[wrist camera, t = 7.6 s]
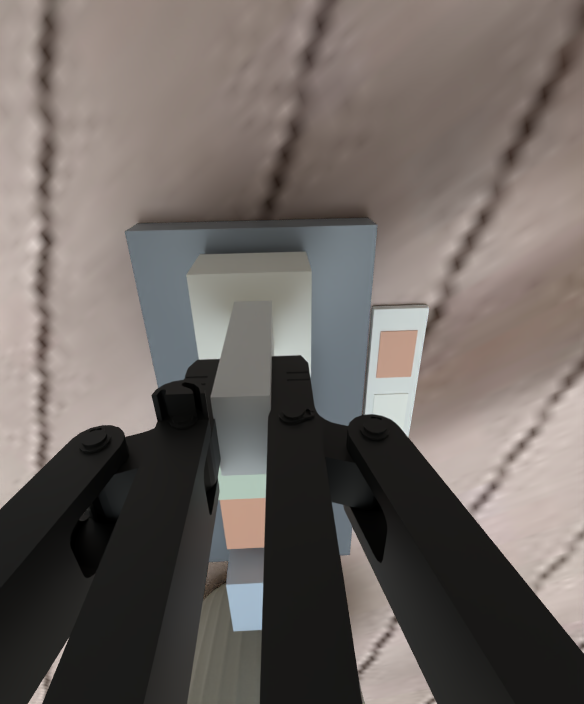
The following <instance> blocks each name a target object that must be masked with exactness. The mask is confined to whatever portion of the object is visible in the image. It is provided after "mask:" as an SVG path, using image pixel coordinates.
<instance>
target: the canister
mask: <svg viewBox="0 0 584 704" xmlns="http://www.w3.org/2000/svg"><path fill="white" fill-rule="evenodd" d="M261 640H262V630H251V631H233V625H232V619H231V613H230V607H229V600H228V594H227V588H226V583H224V584H222V585H221V586H220V587H219V588H216V589H215V590H213V591H212V592H211V594H209V595H208V596H207V597H206V598H205V599H204V600H203V603H202V610H201V616H200V623H199V629H198V636H197V642H196V649H195V655H194V662H193V668H192V675H191V682H190V688H189V695H188V701H187V704H260V674H261ZM359 684H360V683H359ZM360 691H361V687H360ZM361 697H362V704H365V703H364V699H363V695H362V691H361Z"/></svg>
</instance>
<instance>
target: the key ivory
mask: <svg viewBox="0 0 584 704" xmlns="http://www.w3.org/2000/svg"><path fill="white" fill-rule="evenodd" d="M186 277H187V283H188V290H189V297H190V303H191V310H192V317H193V324H194V330H195V337H196V344H197V350H198V357H199V360H203V359H220V357H221V353H222V349H223V345H224V341H225V337H226V333H227V329H228V325H229V321H230V317H231V313H232V309H233V304H234V302H238V301H272V317H273V340H274V356H292V355H301V356H302V357H303V358H304V359H305V360H306V361H307V362H308V365H309V373H310V377H311V299H312V271H311V267H310V264H309V260H308V257H307V254H306V252H270V253H233V254H200V255H199V256H198V258H197V259H196V261H195V262H194V264H193V265H192V267H191V268H190V270H189V271H188V273H187V274H186Z"/></svg>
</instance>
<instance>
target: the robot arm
mask: <svg viewBox="0 0 584 704" xmlns="http://www.w3.org/2000/svg"><path fill="white" fill-rule="evenodd" d="M152 399H153V403H154V408H155V412H156V416H157V421H158V422H157V424H156V427H155V428H154V429H152V430H149V431H146V432H143V433H140V434H135V435H131V436H127V437H125V435H124V432H123V431H122V430H121V429H120V428H119V427H115V426H112V425H102V426H98V427H93V428H90V429H88V430H86V431H83V432H81V433H80V434H78V435H77V436H76V437H74V438H73V439H72V440H71V441H70V442H68V443H67V444H66V445H65V446H64V447H63V448H62V449H61V450H60V451H59V452H58V453H57V454H56V455H55V456H54V457H53V458H52V459H51V460H50V461H49V462H48V463H47V464H46V465H45V466H44V467H43V468H42V469H41V470H40V471H39V472H38V473H37V474H36V475H35V476H34V477H33V478H32V479H31V480H30V481H29V482H28V483H27V484H26V485H25V486H24V487H23V488H22V489H20V490H19V491H18V492H17V493H16V494H15V495H14V496H13V497H12V498H11V499H10V500H9V501H8V502H7V503H6V504H5V505H4V506H3V507H2V508H1V509H0V704H28V702H29V701H30V699H31V698H32V696H33V694H34V693H35V691H36V690H37V688H38V686H39V685H40V683H41V682H42V680H43V678H44V677H45V675H46V674H47V672H48V670H49V669H50V667H51V666H52V664H53V662H54V661H55V659H56V658H57V656H58V654H59V653H60V651H61V649H62V648H63V646H64V645H65V643H66V641H67V640H68V638H69V640H68V642H67V645H66V647H65V649H64V652H63V654H62V657H61V659H60V662H59V664H58V667H57V669H56V671H55V674H54V676H53V679H52V681H51V684H50V686H49V689H48V691H47V694H46V696H45V698H44V701H43V703H42V704H187V701H188V695H189V688H190V682H191V675H192V668H193V662H194V655H195V649H196V642H197V636H198V629H199V623H200V616H201V610H202V603H203V597H204V590H205V583H206V577H207V570H208V564H209V557H210V551H211V544H212V538H213V531H214V525H215V518H216V512H217V505H218V498H219V492H220V490H219V481H218V473H219V467H220V468H221V475H222V476H232V475H257V474H266V503H265V537H264V572H263V606H262V640H261V674H260V704H362V697H361V691H360V684H359V677H358V671H357V664H356V658H355V651H354V645H353V638H352V631H351V625H350V618H349V612H348V605H347V599H346V592H345V585H344V579H343V572H342V566H341V559H340V553H339V546H338V539H337V533H336V526H335V520H334V513H333V507H332V502H333V503H338V504H342V505H343V507H344V511H345V513H346V515H347V517H348V519H349V521H350V523H351V525H352V527H353V529H354V531H355V533H356V535H357V538H358V540H359V542H360V544H361V546H362V548H363V550H364V552H365V554H366V556H367V558H368V560H369V563H370V565H371V567H372V569H373V571H374V573H375V575H376V577H377V579H378V581H379V583H380V585H381V588H382V590H383V592H384V594H385V596H386V598H387V600H388V602H389V604H390V606H391V608H392V610H393V613H394V615H395V617H396V619H397V621H398V623H399V625H400V627H401V629H402V631H403V633H404V635H405V637H406V640H407V642H408V644H409V646H410V648H411V650H412V652H413V654H414V656H415V658H416V660H417V662H418V665H419V667H420V669H421V671H422V673H423V675H424V677H425V679H426V681H427V683H428V685H429V687H430V690H431V692H432V694H433V696H434V698H435V700H436V702H437V704H584V653H583V652H582V651H581V650H580V649H579V647H578V646H577V645H576V644H575V642H574V641H573V640H572V639H571V637H570V636H569V635H568V634H567V633H566V631H565V630H564V629H563V628H562V626H561V625H560V624H559V623H558V621H557V620H556V619H555V618H554V616H553V615H552V614H551V613H550V612H549V610H548V609H547V608H546V607H545V605H544V604H543V603H542V602H541V600H540V599H539V598H538V597H537V596H536V594H535V593H534V592H533V591H532V589H531V588H530V587H529V586H528V584H527V583H526V582H525V581H524V580H523V578H522V577H521V576H520V575H519V573H518V572H517V571H516V570H515V568H514V567H513V566H512V565H511V564H510V562H509V561H508V560H507V559H506V557H505V556H504V555H503V554H502V552H501V551H500V550H499V549H498V547H497V546H496V545H495V544H494V543H493V541H492V540H491V539H490V538H489V536H488V535H487V534H486V533H485V531H484V530H483V529H482V528H481V527H480V525H479V524H478V523H477V522H476V520H475V519H474V518H473V517H472V515H471V514H470V513H469V512H468V511H467V509H466V508H465V507H464V506H463V504H462V503H461V502H460V501H459V499H458V498H457V497H456V496H455V495H454V493H453V492H452V491H451V490H450V488H449V487H448V486H447V485H446V483H445V482H444V481H443V480H442V478H441V477H440V476H439V475H438V474H437V472H436V471H435V470H434V469H433V467H432V466H431V465H430V464H429V462H428V461H427V460H426V459H425V458H424V456H423V455H422V454H421V453H420V451H419V450H418V449H417V448H416V446H415V445H414V444H413V443H412V442H411V440H410V439H409V438H408V437H407V435H406V434H405V433H404V432H403V430H402V429H401V428H400V427H399V426H398V425H397V424H396V423H395V422H394V421H393V420H391V419H389V418H386V417H384V416H381V415H375V414H366V415H361V416H358V417H355V418H354V419H353V420H352V421H351V422H349V425H348V426H346V425H340V424H336V423H332V422H330V421H328V420H325V419H324V418H322V417H321V416H320V415H319V414H318V413H317V411H316V409H315V406H314V399H313V392H312V385H311V378H310V373H309V365H308V362H307V361H306V360H305V359H304V358H303V357H302V356H301V355H292V356H274V340H273V317H272V301H238V302H234V304H233V309H232V313H231V317H230V321H229V325H228V329H227V333H226V337H225V341H224V345H223V349H222V353H221V357H220V359H203V360H196V361H195V362H194V363H193V364H192V365H191V366H190V367H188V369H187V372H186V375H185V379H184V380H179V381H173V382H170V383H167V384H164V385H162V386H161V387H159V388H158V389H156V390H155V392H154V393H153V394H152ZM84 512H85V513H84Z"/></svg>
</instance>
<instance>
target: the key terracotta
mask: <svg viewBox="0 0 584 704" xmlns="http://www.w3.org/2000/svg"><path fill="white" fill-rule="evenodd" d="M265 503H266V498H251V499H230V500H220V505H221V512H222V519H223V525H224V532H225V539H226V545H227V549H243V548H263V547H264V537H265Z"/></svg>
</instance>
